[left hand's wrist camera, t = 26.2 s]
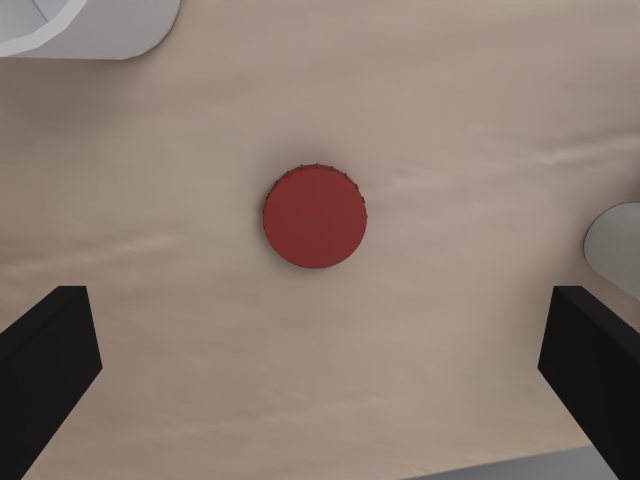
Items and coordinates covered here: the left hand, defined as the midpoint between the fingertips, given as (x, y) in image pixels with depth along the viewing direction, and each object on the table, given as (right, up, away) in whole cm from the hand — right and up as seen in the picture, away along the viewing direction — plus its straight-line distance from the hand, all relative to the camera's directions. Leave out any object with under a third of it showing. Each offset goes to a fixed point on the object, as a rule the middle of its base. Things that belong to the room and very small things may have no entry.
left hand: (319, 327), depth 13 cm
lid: (0, +4, +14) cm, 14 cm away
